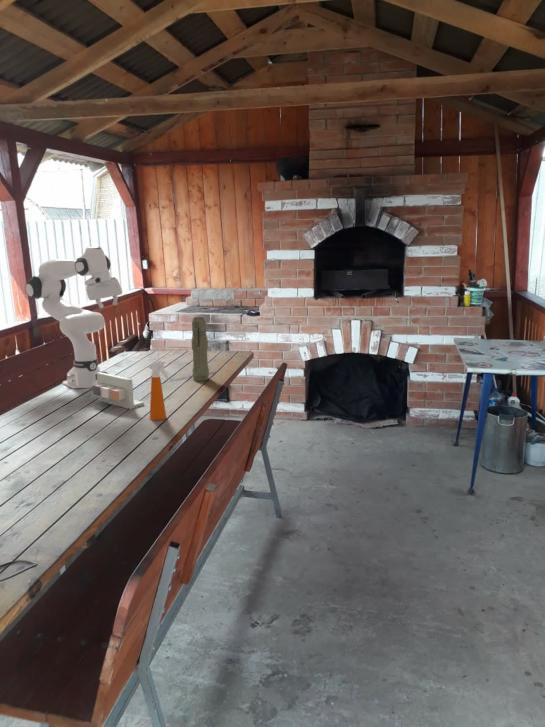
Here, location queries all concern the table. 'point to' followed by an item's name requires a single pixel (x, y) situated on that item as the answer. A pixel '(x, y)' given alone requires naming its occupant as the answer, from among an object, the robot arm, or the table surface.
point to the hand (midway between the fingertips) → (108, 306)
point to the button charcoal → (98, 389)
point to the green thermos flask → (199, 349)
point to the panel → (119, 383)
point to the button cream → (107, 391)
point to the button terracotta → (118, 394)
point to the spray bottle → (157, 392)
